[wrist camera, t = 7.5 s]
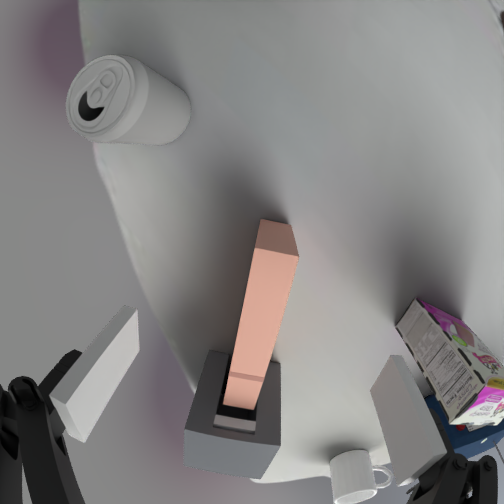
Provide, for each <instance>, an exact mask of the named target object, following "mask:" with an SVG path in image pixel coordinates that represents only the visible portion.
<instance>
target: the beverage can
mask: <svg viewBox="0 0 504 504" xmlns="http://www.w3.org/2000/svg"><path fill="white" fill-rule="evenodd" d="M66 114H67V119H68V122H69V124H70V126H71V127H72V129H73V130H74V131H75V132H77V133H78V134H80V135H82V136H83V137H84V138H86V139H87V140H89V141H92V142H96V143H123V144H142V145H164V144H168V143H170V142H172V141H174V140H175V139H177V138H178V137H179V136H180V135H181V134H182V133H183V132H184V130H185V129H186V127H187V125H188V123H189V121H190V117H191V104H190V101H189V98H188V96H187V95H186V94H185V92H184V91H183V90H182V89H180V88H179V87H177V86H176V85H174V84H173V83H171V82H170V81H169V80H167V79H166V78H164V77H163V76H161V75H160V74H158V73H157V72H155V71H154V70H152V69H151V68H149V67H148V66H146V65H144V64H143V63H141V62H140V61H138V60H137V59H135V58H133V57H130V56H126V55H105V56H101V57H99V58H96V59H94V60H93V61H91V62H89V63H88V64H87V65H86V66H84V67H83V68H82V69H81V70H80V72H79V73H78V74H77V75H76V77H75V78H74V80H73V82H72V84H71V86H70V88H69V91H68V94H67V99H66Z"/></svg>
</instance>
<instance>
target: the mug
mask: <svg viewBox="0 0 504 504" xmlns="http://www.w3.org/2000/svg"><path fill="white" fill-rule="evenodd" d="M373 470H379V471H383V472H384V473H385V474H386V475H387V476H388V480H387V481H386V482H384V483H382V484H376V483H375V478H374V473H373ZM330 471H331V480H332V491H333V501H334V503H336V504H353V503H358V502H361V501H364V500H367V499H369V498H371V497H373V496H374V495H375V494H376V493H377V488H385V487H386V486H388V485H390V484H391V482H392V479H393V477H394V474H393V473H392V472H391V471H390V470H389V469H387V467H384V466H372V464H371V459H370V455H369V453H368V452H367V451H365V450H352V451H348V452H344V453H341V454H339V455H337V456H335V457H334V458H333V459H332V460H331V461H330Z"/></svg>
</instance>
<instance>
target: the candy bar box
mask: <svg viewBox="0 0 504 504" xmlns="http://www.w3.org/2000/svg"><path fill="white" fill-rule="evenodd" d="M395 328H396V329H397V331H398V333H399V334H400V336H401V337H402V339H403V341H404V342H405V344H406V346H407V347H408V349H409V351H410V352H411V354H412V356H413V357H414V359H415V361H416V363H417V364H418V366H419V368H420V369H421V371H422V373H423V375H424V376H425V378H426V380H427V382H428V384H429V386H430V387H431V389H432V391H433V393H434V395H435V396H436V398H437V400H438V402H439V404H440V405H441V408H442V409H443V412H444V414H445V416H446V418H447V420H448V422H449V424H458V425H498V424H499V423H500V422H501V421H502V420H503V419H504V367H503V365H502V364H501V363H500V362H499V361H498V360H497V358H496V357H495V356H494V355H493V354H492V353H491V352H490V350H489V349H488V348H487V347H486V346H485V345H484V344H483V343H482V341H481V340H480V339H479V338H478V337H477V336H476V335H475V334H474V332H473V331H472V330H471V329H470V328H469V327H468V326H467V325H466V324H465V323H464V322H463V321H462V320H460V319H458V318H456V317H454V316H452V315H450V314H448V313H446V312H444V311H442V310H440V309H438V308H436V307H434V306H432V305H430V304H428V303H426V302H424V301H422V300H420V299H418V298H415V299H414V300H413V301H412V303H411V304H410V306H409V308H408V309H407V311H406V312H405V314H404V315H403V317H402V318H401V319H400V321H399V322H398V324H397V325H396V327H395Z"/></svg>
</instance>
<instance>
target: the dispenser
mask: <svg viewBox="0 0 504 504" xmlns="http://www.w3.org/2000/svg"><path fill="white" fill-rule="evenodd" d="M228 357H229V354H225V353H220V352H216V351H211V350H209V353H208V356H207V359H206V362H205V365H204V368H203V371H202V374H201V378H200V381H199V384H198V387H197V390H196V393H195V397H194V400H193V403H192V406H191V409H190V412H189V416H188V419H187V422H186V425H185V429H184V466H188V467H192V468H197V469H200V470H205V471H210V472H215V473H221V474H226V475H232V476H239V477H246V478H254V479H261V478H262V476H263V474H264V473H265V471H266V470H267V468H268V466H269V465H270V463H271V461H272V460H273V458H274V456H275V455H276V453H277V451H278V450H279V448H280V446H281V367H280V363H273V362H269V365H268V368H267V371H266V374H265V378H264V381H263V384H262V387H261V390H260V393H259V396H258V399H257V402H256V405H255V408H254V410H251V409H245V408H240V407H234V406H229V405H224V404H223V402H224V397H225V395H222V389H223V383H224V378H225V373H226V368H227V362H228Z"/></svg>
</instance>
